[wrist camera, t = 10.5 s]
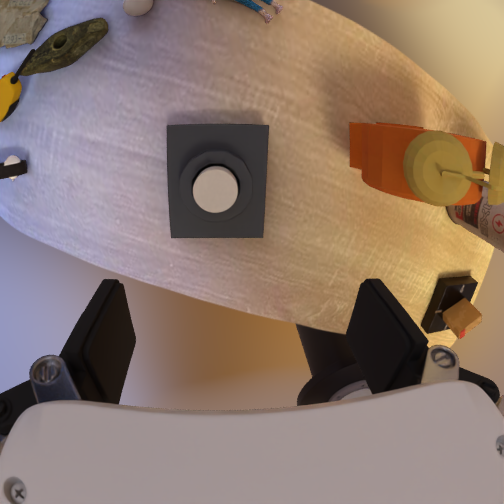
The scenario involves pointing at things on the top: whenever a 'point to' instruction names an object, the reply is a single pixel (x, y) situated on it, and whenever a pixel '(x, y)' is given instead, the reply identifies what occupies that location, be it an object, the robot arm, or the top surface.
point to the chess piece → (137, 7)
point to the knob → (462, 317)
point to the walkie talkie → (11, 90)
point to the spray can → (481, 219)
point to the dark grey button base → (224, 155)
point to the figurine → (249, 3)
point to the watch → (12, 167)
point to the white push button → (215, 189)
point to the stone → (20, 21)
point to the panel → (447, 300)
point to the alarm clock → (426, 164)
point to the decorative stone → (66, 47)
